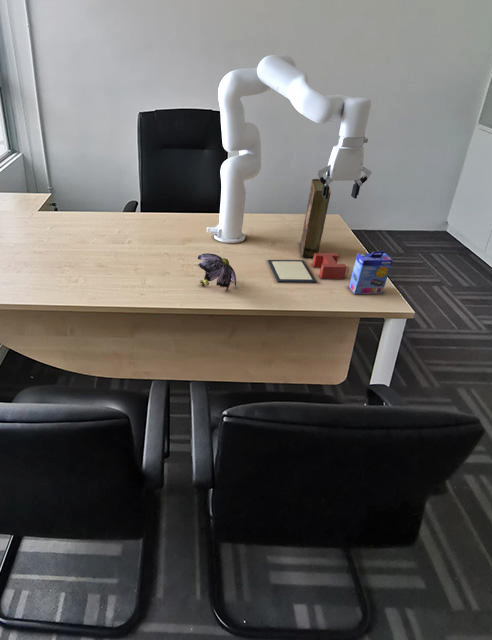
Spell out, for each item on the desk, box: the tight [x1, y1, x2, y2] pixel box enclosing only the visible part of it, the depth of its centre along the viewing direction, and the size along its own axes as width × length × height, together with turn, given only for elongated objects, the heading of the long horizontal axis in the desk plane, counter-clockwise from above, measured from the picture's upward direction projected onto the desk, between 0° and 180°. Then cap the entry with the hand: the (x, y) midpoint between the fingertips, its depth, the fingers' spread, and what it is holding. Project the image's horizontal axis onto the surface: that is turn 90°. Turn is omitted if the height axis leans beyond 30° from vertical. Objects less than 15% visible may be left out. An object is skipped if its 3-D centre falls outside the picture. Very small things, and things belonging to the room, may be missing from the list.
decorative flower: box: [197, 252, 237, 292], centre depth 160 cm, size 15×12×15 cm
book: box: [300, 178, 332, 258], centre depth 182 cm, size 16×6×25 cm, turn 168°
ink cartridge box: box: [348, 250, 394, 295], centre depth 157 cm, size 10×6×14 cm, turn 95°
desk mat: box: [267, 259, 317, 284], centre depth 173 cm, size 13×18×1 cm
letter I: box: [311, 252, 348, 280], centre depth 172 cm, size 8×12×4 cm, turn 0°
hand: (339, 197), depth 161 cm, fingers open, 9 cm apart
